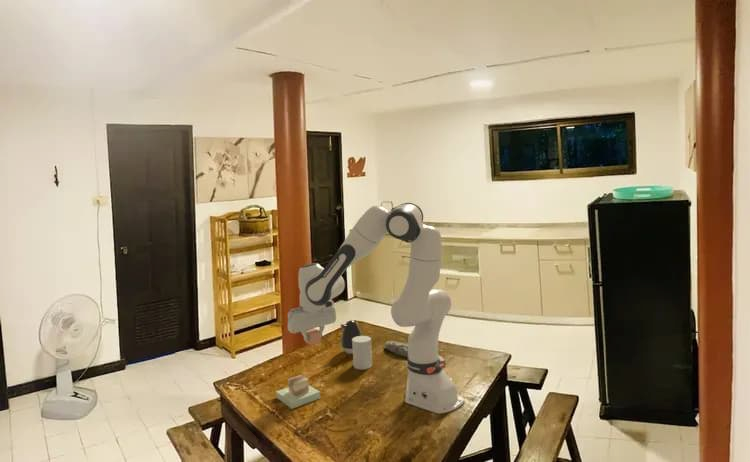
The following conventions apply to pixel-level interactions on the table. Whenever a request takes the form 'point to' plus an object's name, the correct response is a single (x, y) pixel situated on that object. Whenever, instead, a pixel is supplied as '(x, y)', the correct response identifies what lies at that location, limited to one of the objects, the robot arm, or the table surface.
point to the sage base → (299, 400)
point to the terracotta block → (313, 336)
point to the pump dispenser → (349, 335)
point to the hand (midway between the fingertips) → (313, 338)
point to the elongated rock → (403, 349)
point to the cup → (362, 352)
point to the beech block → (298, 385)
